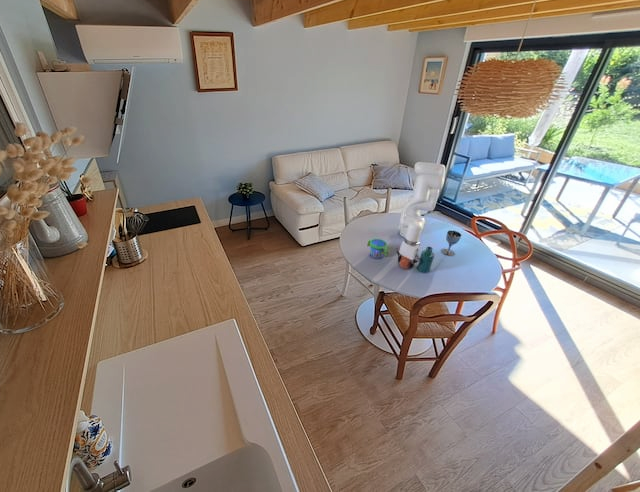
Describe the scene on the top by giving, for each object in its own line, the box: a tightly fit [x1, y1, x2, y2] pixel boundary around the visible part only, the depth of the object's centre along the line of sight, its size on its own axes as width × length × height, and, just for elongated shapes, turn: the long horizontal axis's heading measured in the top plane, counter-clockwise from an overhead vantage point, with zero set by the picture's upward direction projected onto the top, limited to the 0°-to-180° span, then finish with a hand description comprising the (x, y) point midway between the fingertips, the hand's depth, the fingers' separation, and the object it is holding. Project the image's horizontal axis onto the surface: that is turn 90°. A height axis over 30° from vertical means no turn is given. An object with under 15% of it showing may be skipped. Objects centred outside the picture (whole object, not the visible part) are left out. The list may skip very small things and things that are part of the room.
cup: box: [399, 255, 411, 270], centre depth 179 cm, size 6×6×6 cm
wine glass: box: [441, 230, 462, 257], centre depth 189 cm, size 8×8×15 cm
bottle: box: [416, 246, 435, 274], centre depth 174 cm, size 7×7×16 cm
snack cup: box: [366, 238, 389, 259], centre depth 188 cm, size 16×10×10 cm
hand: (405, 264), depth 180 cm, fingers open, 7 cm apart
